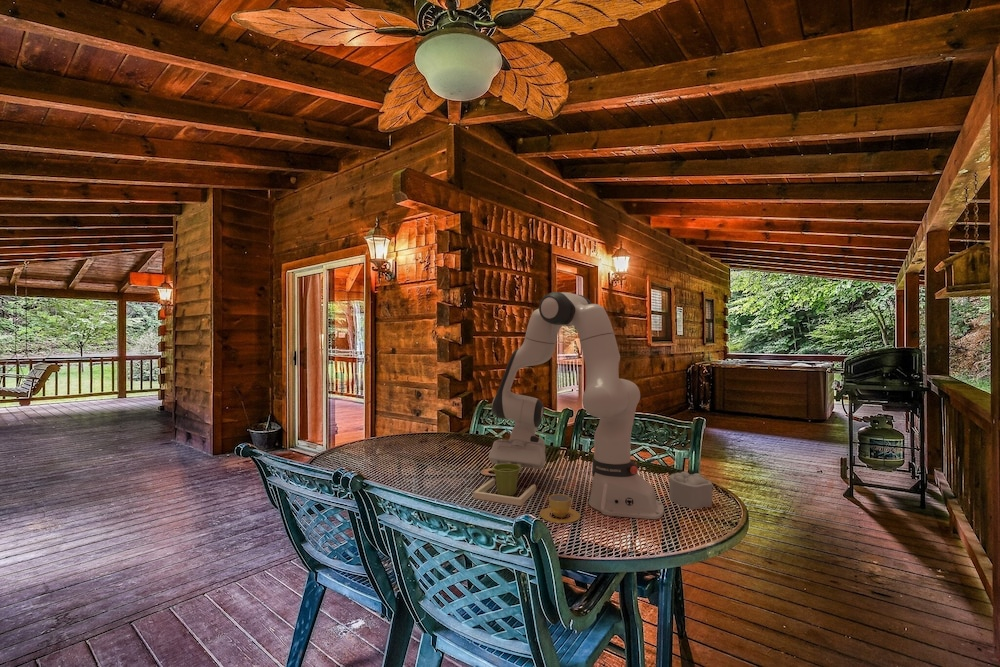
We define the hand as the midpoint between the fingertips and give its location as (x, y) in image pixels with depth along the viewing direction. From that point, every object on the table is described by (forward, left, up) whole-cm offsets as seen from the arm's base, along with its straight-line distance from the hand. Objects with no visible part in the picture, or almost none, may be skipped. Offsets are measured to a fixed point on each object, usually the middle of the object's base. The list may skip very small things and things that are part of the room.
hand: (511, 476), depth 159 cm
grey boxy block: (-56, -12, -5) cm, 58 cm away
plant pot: (0, +4, -5) cm, 6 cm away
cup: (-21, +15, -5) cm, 27 cm away
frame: (0, +5, -4) cm, 7 cm away
